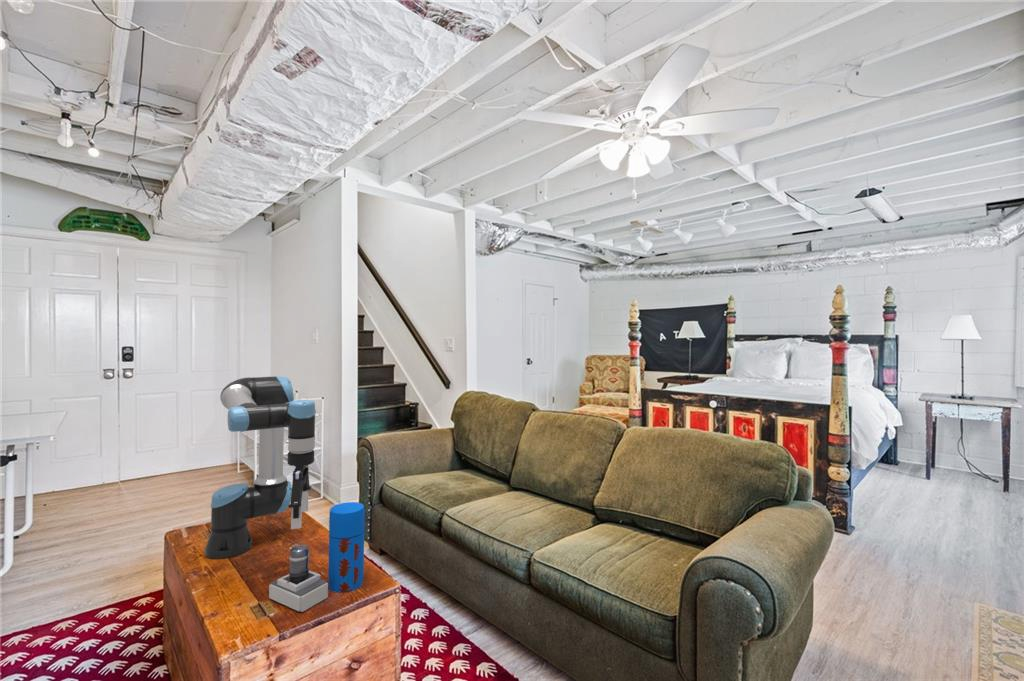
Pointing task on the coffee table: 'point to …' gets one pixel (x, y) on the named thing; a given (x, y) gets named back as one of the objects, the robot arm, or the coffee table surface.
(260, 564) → the coffee table surface
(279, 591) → the grey square frame
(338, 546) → the thermos
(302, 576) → the lens
